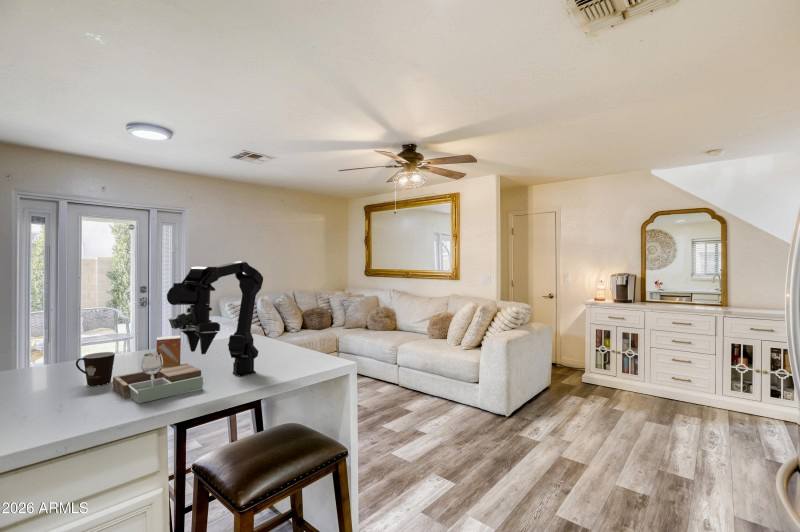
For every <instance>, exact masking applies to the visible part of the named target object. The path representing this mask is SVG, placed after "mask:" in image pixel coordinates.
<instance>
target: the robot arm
mask: <svg viewBox="0 0 800 532" xmlns="http://www.w3.org/2000/svg"><path fill="white" fill-rule="evenodd" d="M231 275H234V277H235V278H236V280H238V281H239V283H238V284H239V285H238V286H239V289H240V291H241V301H240V306H239V313H238V318H237V320H238V321H237V326H236V331H235V332H234V333H233V334H230V335H229V337H228V338H229V339H228V340H229V341H228V344H227V347H228V351H229V355H230V358H231V359H234V362H233V366H232V367H233V368H232V369H233V371H232V374H234V375H235V376H238V377H244V376H248V374H249V375H252V373H253V374H256V373H257V371H256V370H255V359H256V358H257V357H259V350H258V349H257V347H256V346H255V345H254V336H253V335H252V332H251V329H252V323H253V318H254V309H255V305H256V297H257V295H258V293H259V292H260V291H261V289H262V286H263V283H264V282H263V281H264V277H263V274H261V273H260V272H259V270H258V269H256V268H254V267H253V266H251V265H250V264H249V263H248V262H246V261H242V260H241V261H237V260H236V261H233V262H229V263H224V264H219V265H214V266H192V267H190V270H189V272H188V273H187V274H186V276H184V279H183V280H182V282H173V283H172V285H173V286H171V287H170V288H169V290H168V291H167V293H166V300H167V302H168V303H169V304H170V305H172V306H189V307H187V308H186V312H182V313H181V314H177V315H176V316H172V317H169V318H168V322H169V324H170V327H171V329H174V330H177V329H179V330H180V331H181V332H182V333H183V335H186V338H187V342H188V346H189V350H190V352H192V353H194V352H196V349H197V347H198V344H200V345H199V346H200V353H201V355H206V353H207V352H208V351H209V348H210V346H211V344H212V342H213V341H214V339H215V337H216V336H217V334H218V333H219V332H220V331H221V325H220V323H219V322H216V321H212V319H210V313H211V312H212V311H213V308H212V307H211V292H216V288H215V287H214V286H213V285H212V284H213V283H215V282H217V281H218V280H219V279H220V278H223V277H226V276H227V277H228V276H231Z"/></svg>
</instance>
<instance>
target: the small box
mask: <svg viewBox="0 0 800 532" xmlns="http://www.w3.org/2000/svg"><path fill="white" fill-rule="evenodd" d="M181 339H182V338H181V335H180V334H179V335H168V336H166V335H165V336H159V337H158V336H157V337H156V347H155V348H156V349H155V353H161V355H162V358H163V367H162V368H164V367H170V366H175V365H181V346H182V345H181V342H182V341H181Z"/></svg>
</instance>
